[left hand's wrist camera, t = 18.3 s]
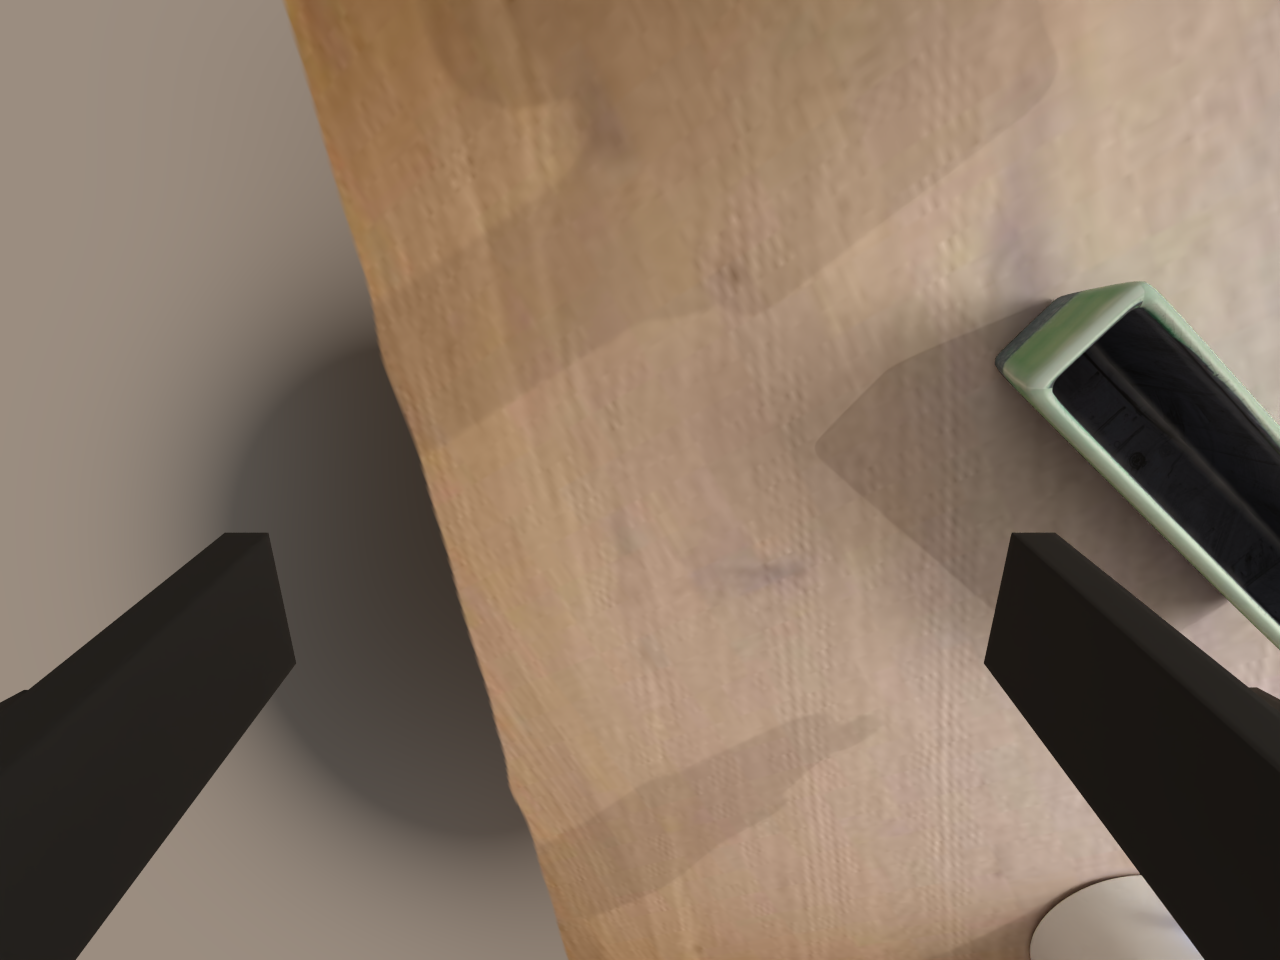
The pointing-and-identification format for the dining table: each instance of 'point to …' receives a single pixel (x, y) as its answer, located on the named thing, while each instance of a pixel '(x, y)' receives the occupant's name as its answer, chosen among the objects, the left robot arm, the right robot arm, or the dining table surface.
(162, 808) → the left robot arm
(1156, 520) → the planter
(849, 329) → the dining table surface
